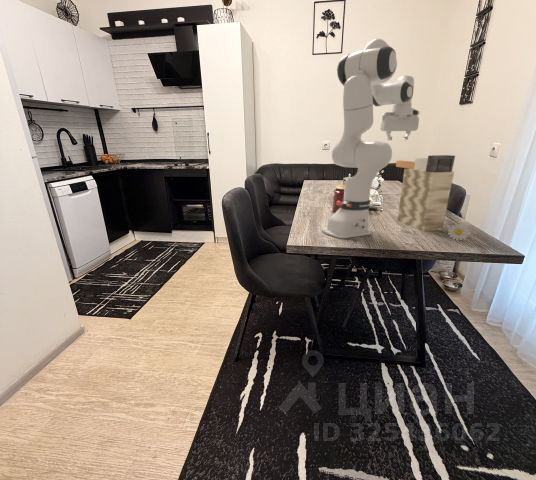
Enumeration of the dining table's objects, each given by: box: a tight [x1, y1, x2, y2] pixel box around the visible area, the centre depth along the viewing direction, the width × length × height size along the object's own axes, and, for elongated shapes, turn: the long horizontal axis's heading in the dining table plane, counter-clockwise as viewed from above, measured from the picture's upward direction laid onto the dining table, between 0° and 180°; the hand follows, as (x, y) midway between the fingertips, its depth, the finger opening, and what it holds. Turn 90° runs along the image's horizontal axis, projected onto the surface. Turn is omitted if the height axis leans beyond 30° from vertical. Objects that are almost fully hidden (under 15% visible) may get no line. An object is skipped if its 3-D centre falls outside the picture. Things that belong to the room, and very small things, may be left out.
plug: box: [395, 157, 428, 171], centre depth 136 cm, size 24×6×5 cm, turn 12°
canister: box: [331, 180, 347, 213], centre depth 161 cm, size 13×13×18 cm
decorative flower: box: [435, 223, 471, 241], centre depth 120 cm, size 8×6×15 cm
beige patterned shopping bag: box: [396, 154, 456, 232], centre depth 131 cm, size 19×10×33 cm, turn 11°
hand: (397, 140), depth 151 cm, fingers open, 8 cm apart
